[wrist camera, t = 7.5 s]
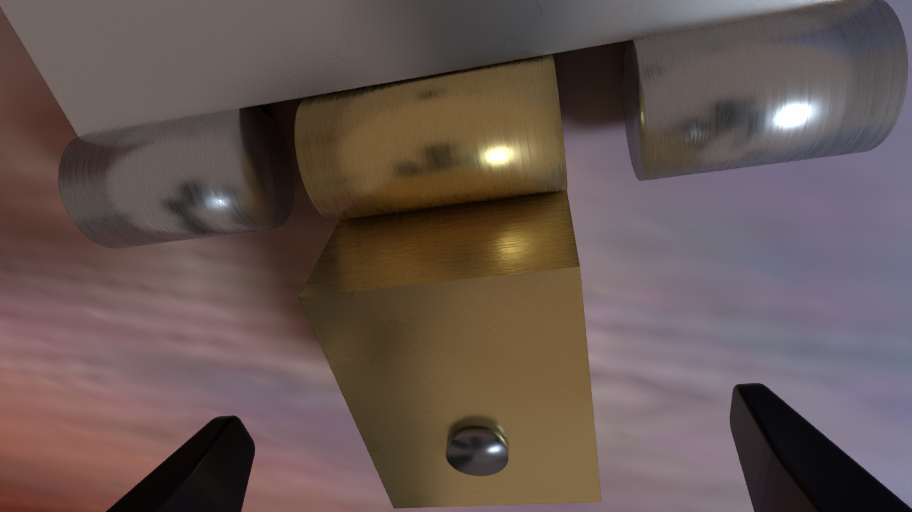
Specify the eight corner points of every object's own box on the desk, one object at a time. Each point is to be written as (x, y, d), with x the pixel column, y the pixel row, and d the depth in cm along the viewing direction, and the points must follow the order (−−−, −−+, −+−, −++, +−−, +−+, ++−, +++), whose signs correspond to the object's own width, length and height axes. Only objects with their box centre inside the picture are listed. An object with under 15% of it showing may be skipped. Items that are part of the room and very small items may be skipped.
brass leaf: (419, 375, 15) (391, 519, 12) (322, 79, 11) (230, 170, 7) (582, 362, 14) (603, 513, 11) (548, 37, 10) (567, 116, 7)
